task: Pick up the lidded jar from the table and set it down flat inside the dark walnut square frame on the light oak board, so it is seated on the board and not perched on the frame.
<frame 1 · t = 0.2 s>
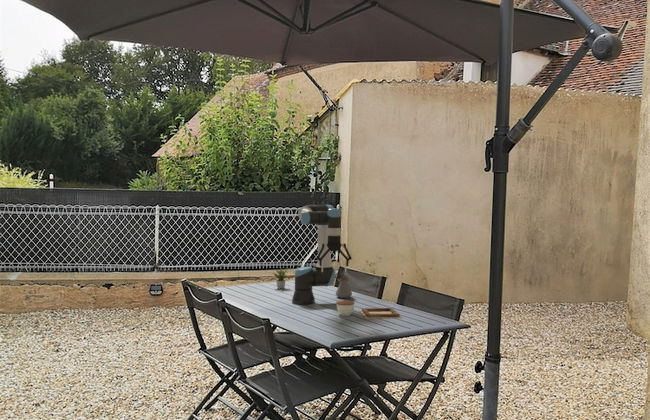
hand: (334, 271, 336), 27 cm above the table, tool pointing down, fingers open, 13 cm apart
coffee pot: (339, 296, 405), on the table
lidded jar: (345, 315, 346), on the table
oak board: (380, 314, 347), on the table
house plant: (281, 288, 438), on the table
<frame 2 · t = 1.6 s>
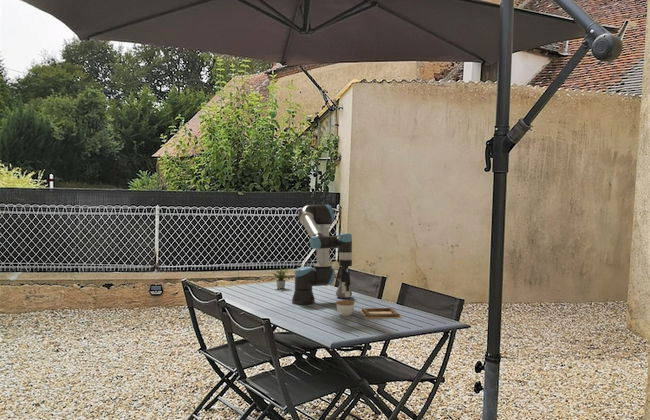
hand: (345, 294, 345), 12 cm above the table, tool pointing down, fingers open, 13 cm apart
nothing on the table moved.
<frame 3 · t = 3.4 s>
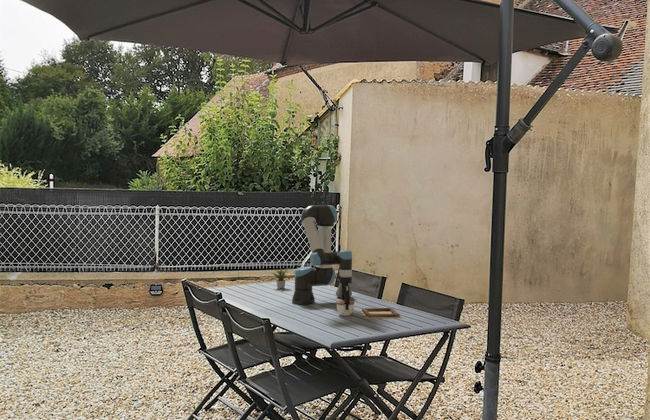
hand: (345, 313, 346), 1 cm above the table, tool pointing down, fingers closed on lidded jar, 11 cm apart
lidded jar: (345, 315, 346), on the table, touching gripper
everything else where it was.
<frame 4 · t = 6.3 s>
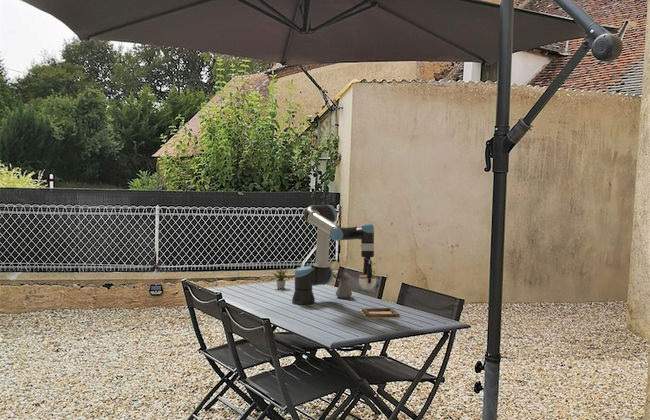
hand: (367, 287, 346), 17 cm above the table, tool pointing down, fingers closed on lidded jar, 11 cm apart
lidded jar: (367, 289, 346), point 15 cm above the table, touching gripper
everything else where it was.
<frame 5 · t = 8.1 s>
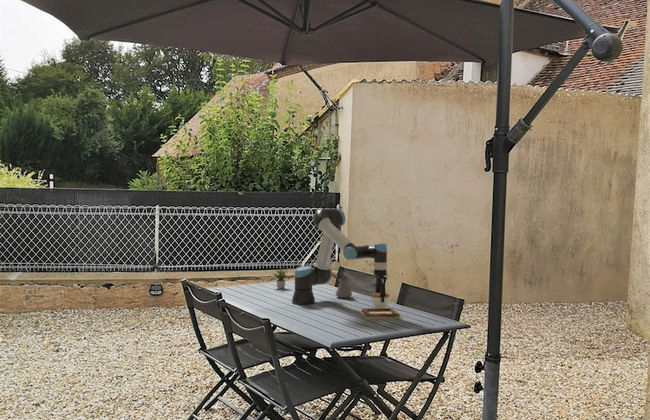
hand: (380, 305, 347), 5 cm above the table, tool pointing down, fingers closed on lidded jar, 11 cm apart
lidded jar: (380, 307, 347), point 4 cm above the table, touching gripper
everything else where it was.
when the fingers open (3 cm above the table, at t = 9.5 s): lidded jar drops 2 cm, resting on oak board.
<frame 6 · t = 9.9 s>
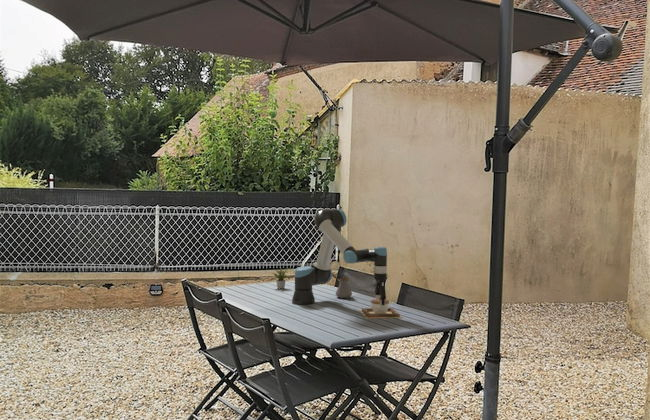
hand: (380, 308, 347), 4 cm above the table, tool pointing down, fingers open, 13 cm apart
lidded jar: (380, 313, 348), resting on oak board
everything else where it was.
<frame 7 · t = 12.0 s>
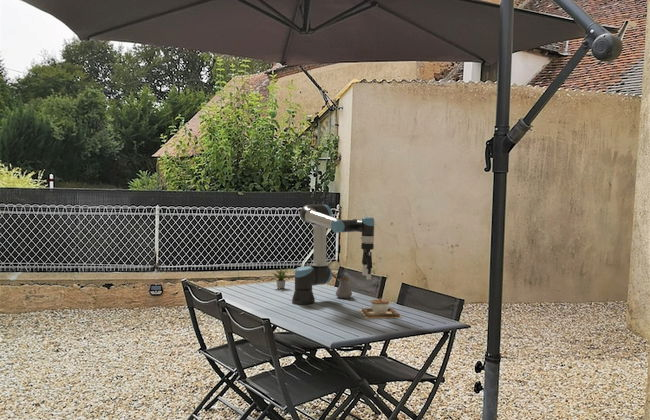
hand: (366, 277, 354), 21 cm above the table, tool pointing down, fingers open, 13 cm apart
nothing on the table moved.
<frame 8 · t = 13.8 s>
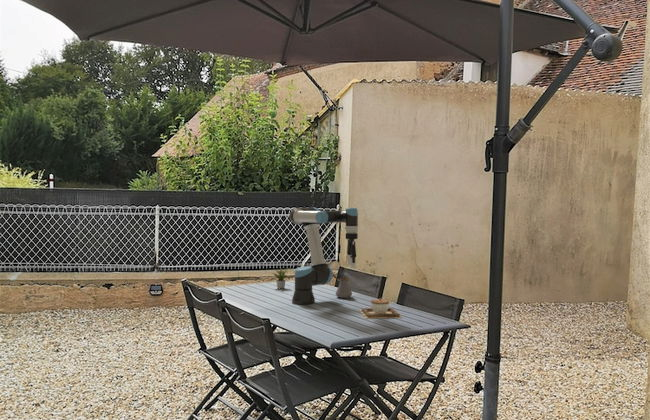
hand: (351, 266, 361), 27 cm above the table, tool pointing down, fingers open, 13 cm apart
nothing on the table moved.
at the end: lidded jar 0.2 cm off-centre on the oak board, point 0.1 cm above the oak board's base; lidded jar tilted 0°; the gripper is holding nothing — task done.
